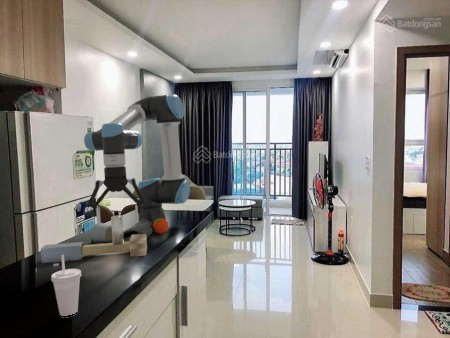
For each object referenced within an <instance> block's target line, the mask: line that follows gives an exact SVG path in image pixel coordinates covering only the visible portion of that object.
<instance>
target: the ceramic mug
mask: <svg viewBox="0 0 450 338" xmlns="http://www.w3.org/2000/svg"><path fill="white" fill-rule="evenodd" d="M91 238H92V240H94V241H97V242H103V243H112V224H108V223H103V222H101V225H100V226H97V223H94V225H93V227H92V228H91Z"/></svg>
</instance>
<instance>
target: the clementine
mask: <svg viewBox="0 0 450 338" xmlns="http://www.w3.org/2000/svg"><path fill="white" fill-rule="evenodd" d="M168 228H169V223H168V221H167V219H166V220H165V219H163V218H160V219H157V220H156V221H155V222H154V224H153V227H152V230H154V232H155V233H157V234H158V235H160V234H161V235H162V234H164V233H166V232H168Z"/></svg>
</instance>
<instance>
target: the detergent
mask: <svg viewBox="0 0 450 338" xmlns="http://www.w3.org/2000/svg"><path fill="white" fill-rule="evenodd" d="M123 233H124V242H129V241H130V238H131V235H137V234H146V237H147V239H148V238H149V236H150V235H151V234H152V233H153V224H152V223H151V222H150V221H149V220H146V219H143V220H141V221H140V222H139V223H138V224H136V225H134V226H132V227H130V228H128V229H126V230H123Z"/></svg>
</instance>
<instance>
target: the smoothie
mask: <svg viewBox="0 0 450 338" xmlns="http://www.w3.org/2000/svg"><path fill="white" fill-rule="evenodd" d="M61 257H62V261H61V270H59V271H56V272H54V273H52V274H51V276H50V277H51V278H50V281H51V282H52V283H53V288H54V291H55V292H54V293H55V298H56V302H57V307H58V312H59V316H60V315H61V316H68V315H72V314H75V313H76V312H77V313H78V310H79V294H80V282H81V281H80V280H81V276H82V271H81V269H79V268H67V269H66V266H65V262H66V261H64V255H61ZM75 315H76V314H75ZM61 316H60V317H61Z"/></svg>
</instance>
